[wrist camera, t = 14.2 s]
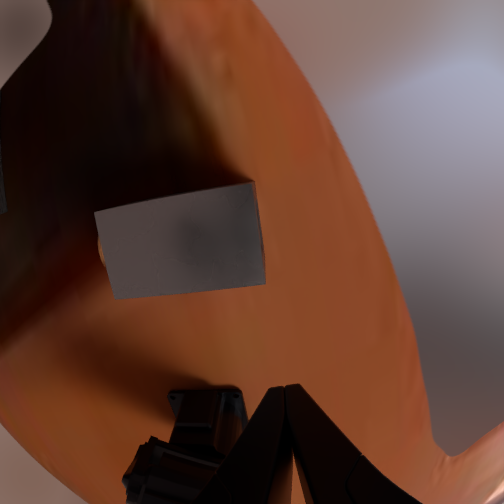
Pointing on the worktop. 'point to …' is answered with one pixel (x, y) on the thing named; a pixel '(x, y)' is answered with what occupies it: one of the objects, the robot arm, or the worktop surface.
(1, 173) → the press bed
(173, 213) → the block
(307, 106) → the worktop surface
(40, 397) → the worktop surface
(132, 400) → the worktop surface
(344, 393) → the worktop surface
